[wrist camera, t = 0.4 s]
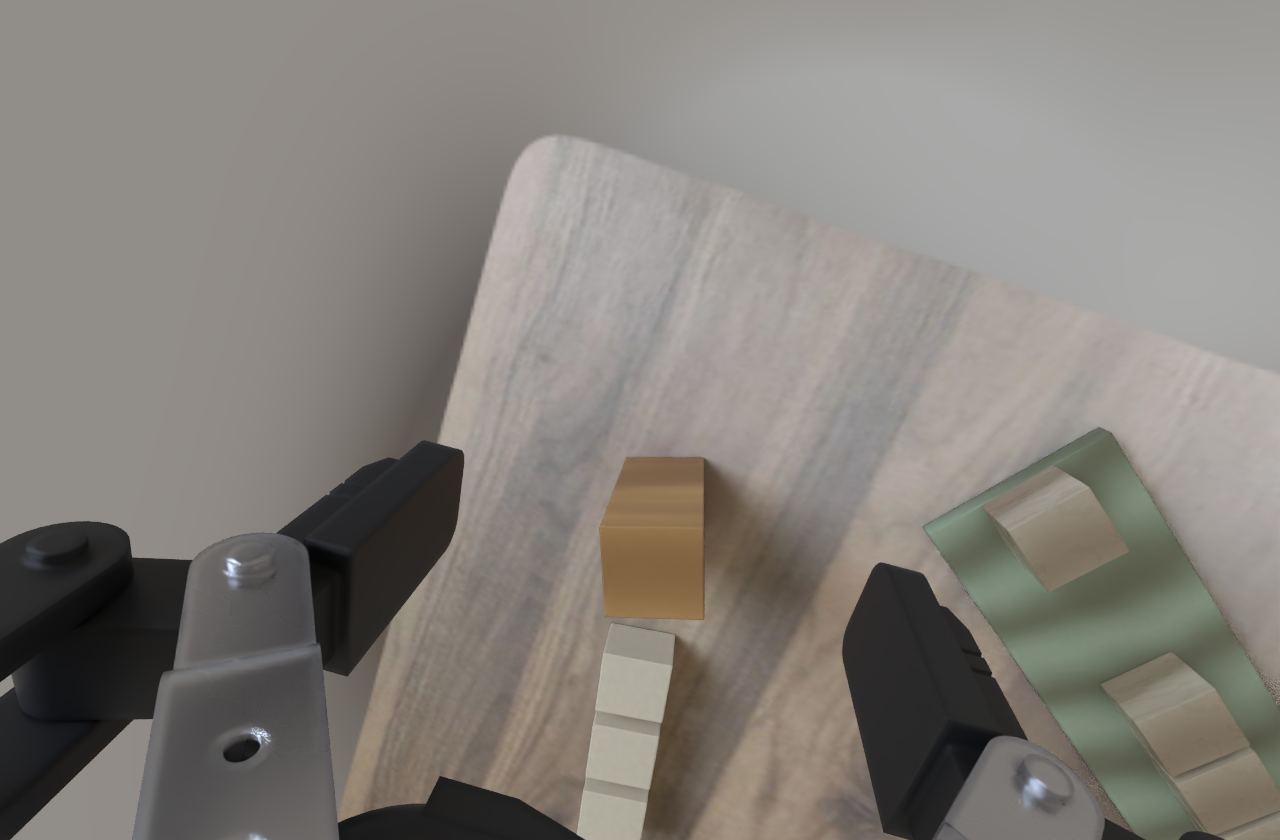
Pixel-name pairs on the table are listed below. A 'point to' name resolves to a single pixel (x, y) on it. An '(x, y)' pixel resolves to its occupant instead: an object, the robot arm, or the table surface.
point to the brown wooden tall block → (655, 540)
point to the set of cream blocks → (625, 732)
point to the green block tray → (1122, 642)
